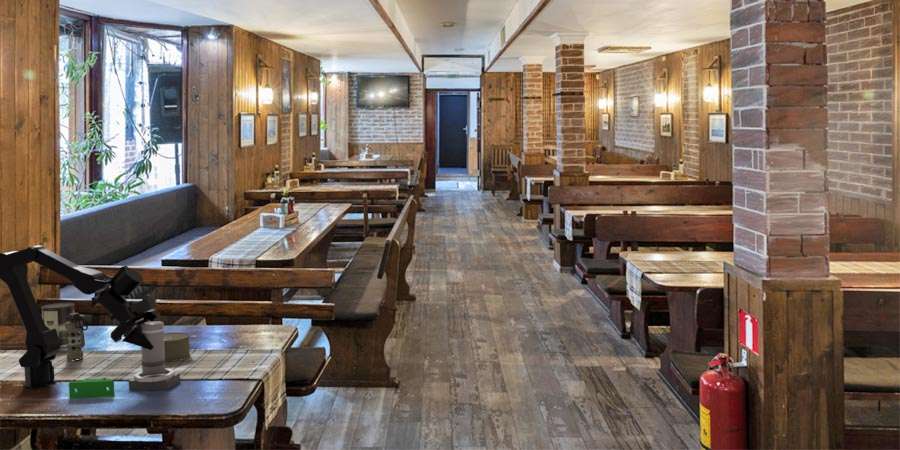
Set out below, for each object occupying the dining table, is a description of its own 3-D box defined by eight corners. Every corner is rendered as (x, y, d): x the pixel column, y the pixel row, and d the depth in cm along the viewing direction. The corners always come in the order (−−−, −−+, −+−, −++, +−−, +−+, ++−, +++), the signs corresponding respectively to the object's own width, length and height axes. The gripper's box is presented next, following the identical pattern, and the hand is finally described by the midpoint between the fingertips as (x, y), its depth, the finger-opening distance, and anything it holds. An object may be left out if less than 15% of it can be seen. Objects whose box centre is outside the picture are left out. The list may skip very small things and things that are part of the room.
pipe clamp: (117, 393, 199) (117, 376, 199) (113, 397, 195) (112, 380, 195) (74, 394, 198) (74, 378, 197) (69, 399, 194) (68, 382, 194)
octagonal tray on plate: (127, 390, 200) (126, 378, 200) (144, 380, 210) (144, 368, 210) (165, 390, 200) (165, 378, 199) (181, 380, 210) (181, 368, 209)
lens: (145, 376, 200) (143, 327, 199) (138, 371, 205) (137, 323, 204) (168, 372, 204) (167, 323, 203) (161, 368, 209) (160, 320, 208)
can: (198, 353, 240) (197, 333, 240) (174, 363, 229) (173, 342, 228) (167, 351, 244) (166, 331, 243) (142, 360, 232) (141, 339, 232)
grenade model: (82, 361, 232) (79, 315, 230) (63, 360, 233) (60, 314, 232) (95, 356, 238) (93, 311, 237) (77, 355, 239) (75, 310, 238)
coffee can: (78, 340, 262) (76, 301, 261) (74, 346, 252) (72, 306, 251) (45, 342, 258) (43, 303, 257) (41, 349, 248) (39, 308, 247)
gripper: (119, 292, 194) (161, 333, 194) (152, 281, 212) (190, 319, 213) (92, 321, 195) (133, 362, 195) (127, 308, 213) (165, 345, 214)
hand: (157, 346), depth 204 cm, fingers closed on lens, 6 cm apart
